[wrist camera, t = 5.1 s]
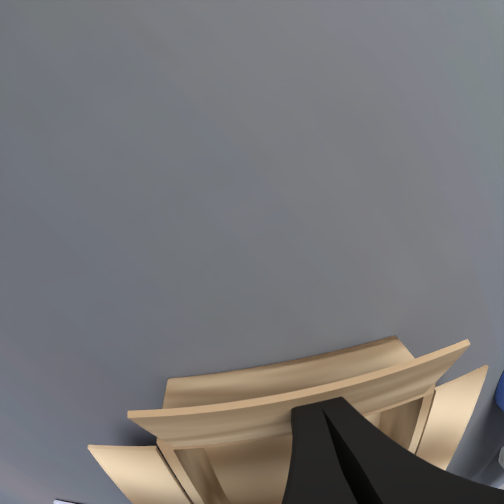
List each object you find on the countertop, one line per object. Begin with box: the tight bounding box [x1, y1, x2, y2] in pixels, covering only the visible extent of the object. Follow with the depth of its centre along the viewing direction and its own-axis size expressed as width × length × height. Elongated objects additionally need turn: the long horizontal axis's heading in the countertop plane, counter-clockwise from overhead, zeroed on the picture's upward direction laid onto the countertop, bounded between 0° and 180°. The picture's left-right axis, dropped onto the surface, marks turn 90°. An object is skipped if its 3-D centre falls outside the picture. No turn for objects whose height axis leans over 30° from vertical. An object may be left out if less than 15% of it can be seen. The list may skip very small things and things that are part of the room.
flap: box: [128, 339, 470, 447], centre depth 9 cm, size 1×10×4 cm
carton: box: [88, 335, 488, 504], centre depth 14 cm, size 14×18×4 cm
